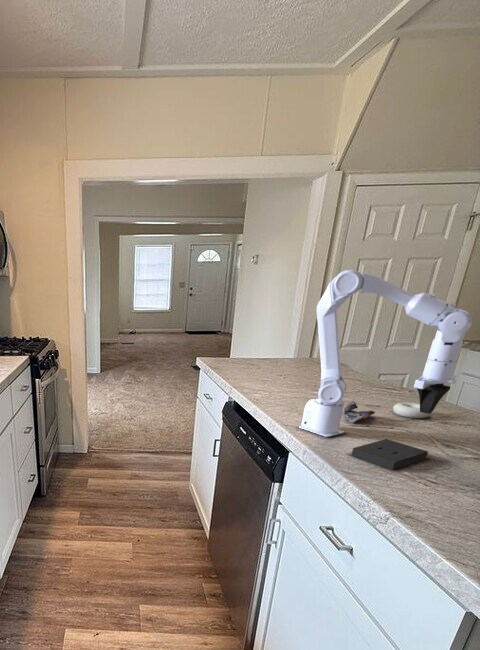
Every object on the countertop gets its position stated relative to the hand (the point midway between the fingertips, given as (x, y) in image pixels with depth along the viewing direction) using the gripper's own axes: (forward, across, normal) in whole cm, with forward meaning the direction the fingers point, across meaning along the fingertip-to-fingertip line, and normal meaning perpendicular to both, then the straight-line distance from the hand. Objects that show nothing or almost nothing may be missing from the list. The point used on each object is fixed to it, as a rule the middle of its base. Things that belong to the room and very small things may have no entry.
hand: (425, 412), depth 104 cm
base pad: (+9, -18, -1) cm, 20 cm away
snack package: (+10, +9, +22) cm, 26 cm away
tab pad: (+9, -10, -1) cm, 14 cm away
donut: (+10, +28, +16) cm, 34 cm away
